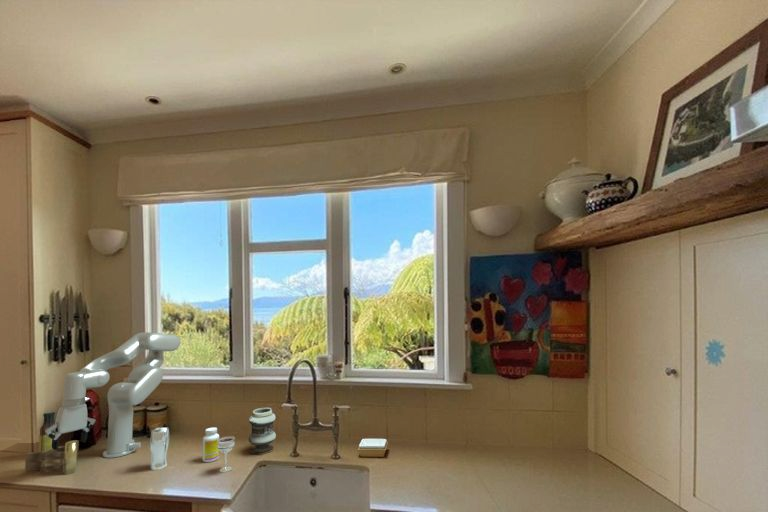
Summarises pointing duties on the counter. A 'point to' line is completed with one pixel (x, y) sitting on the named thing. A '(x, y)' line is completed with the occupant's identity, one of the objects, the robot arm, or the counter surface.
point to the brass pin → (70, 457)
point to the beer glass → (159, 447)
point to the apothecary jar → (262, 430)
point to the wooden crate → (47, 460)
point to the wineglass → (226, 449)
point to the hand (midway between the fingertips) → (69, 445)
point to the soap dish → (372, 447)
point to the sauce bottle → (44, 440)
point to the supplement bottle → (210, 445)
